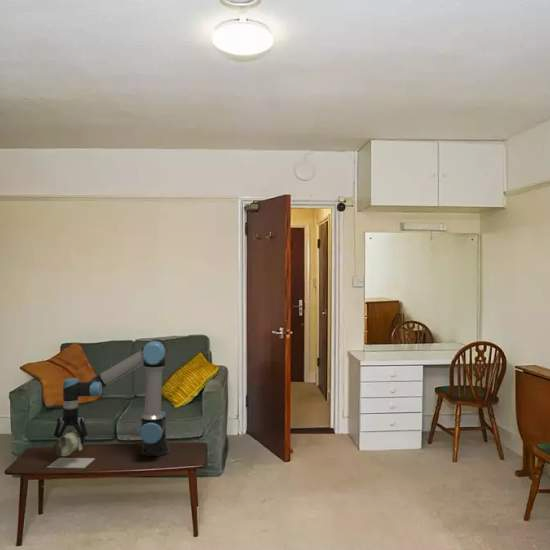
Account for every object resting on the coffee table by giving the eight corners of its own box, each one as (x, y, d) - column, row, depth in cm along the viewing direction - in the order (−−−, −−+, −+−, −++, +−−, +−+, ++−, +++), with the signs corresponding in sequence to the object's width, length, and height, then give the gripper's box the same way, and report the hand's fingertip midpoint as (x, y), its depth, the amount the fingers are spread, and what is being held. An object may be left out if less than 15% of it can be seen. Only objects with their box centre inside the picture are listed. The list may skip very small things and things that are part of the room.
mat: (95, 459, 286) (95, 458, 286) (84, 468, 272) (84, 467, 272) (59, 458, 288) (59, 457, 288) (46, 467, 274) (46, 466, 274)
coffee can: (52, 437, 272) (65, 430, 286) (55, 457, 271) (67, 449, 285) (71, 435, 271) (83, 427, 285) (74, 455, 271) (86, 446, 285)
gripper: (46, 409, 276) (46, 451, 276) (88, 409, 275) (88, 452, 275) (53, 405, 284) (53, 447, 284) (94, 406, 282) (94, 447, 282)
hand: (70, 449), depth 279 cm, fingers closed on coffee can, 10 cm apart
